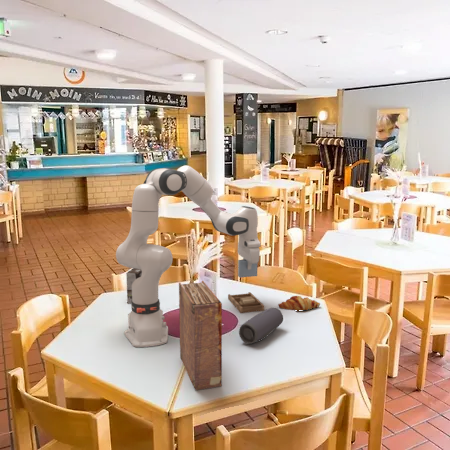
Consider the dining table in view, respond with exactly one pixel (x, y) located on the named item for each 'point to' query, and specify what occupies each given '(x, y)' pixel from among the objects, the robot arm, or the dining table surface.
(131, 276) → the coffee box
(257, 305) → the wooden tray
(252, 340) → the bluetooth speaker
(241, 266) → the blue-grey square slab
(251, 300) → the offcut top
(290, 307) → the croissant
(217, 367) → the book
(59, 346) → the dining table surface
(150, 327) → the robot arm
